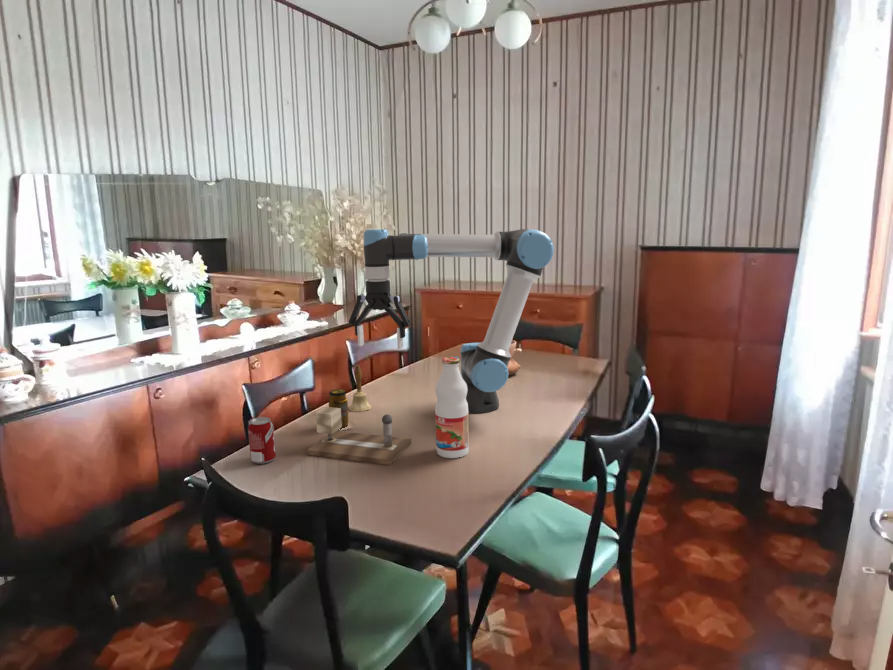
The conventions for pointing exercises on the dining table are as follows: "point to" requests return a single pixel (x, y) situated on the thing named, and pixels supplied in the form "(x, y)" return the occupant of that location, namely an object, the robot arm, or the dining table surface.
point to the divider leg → (328, 420)
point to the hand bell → (359, 395)
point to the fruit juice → (451, 411)
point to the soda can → (261, 440)
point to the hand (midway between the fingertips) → (380, 346)
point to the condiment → (340, 404)
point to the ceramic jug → (512, 365)
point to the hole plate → (362, 445)
